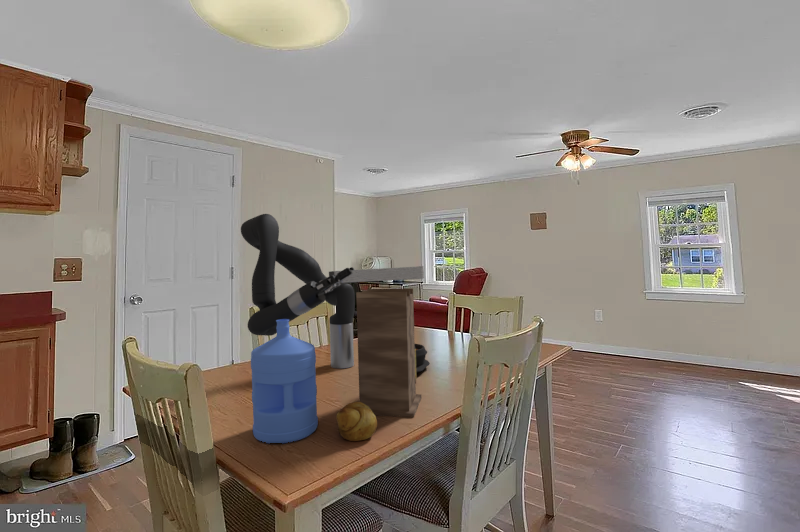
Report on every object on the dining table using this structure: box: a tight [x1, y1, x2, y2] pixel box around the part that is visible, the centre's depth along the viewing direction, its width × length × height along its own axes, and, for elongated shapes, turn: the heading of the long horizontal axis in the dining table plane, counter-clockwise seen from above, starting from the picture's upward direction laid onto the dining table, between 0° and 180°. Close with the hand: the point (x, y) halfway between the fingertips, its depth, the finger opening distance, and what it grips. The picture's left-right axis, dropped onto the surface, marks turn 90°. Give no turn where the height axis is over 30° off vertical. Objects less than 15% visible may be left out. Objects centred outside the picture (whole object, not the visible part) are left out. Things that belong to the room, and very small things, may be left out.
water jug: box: [250, 319, 319, 444], centre depth 100 cm, size 16×16×28 cm
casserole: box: [414, 343, 430, 373], centre depth 154 cm, size 25×19×8 cm
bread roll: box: [336, 401, 378, 442], centre depth 99 cm, size 13×10×8 cm
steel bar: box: [328, 265, 425, 284], centre depth 119 cm, size 4×28×4 cm, turn 79°
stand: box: [355, 287, 422, 418], centre depth 116 cm, size 15×17×34 cm
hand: (351, 270), depth 120 cm, fingers closed on steel bar, 3 cm apart
